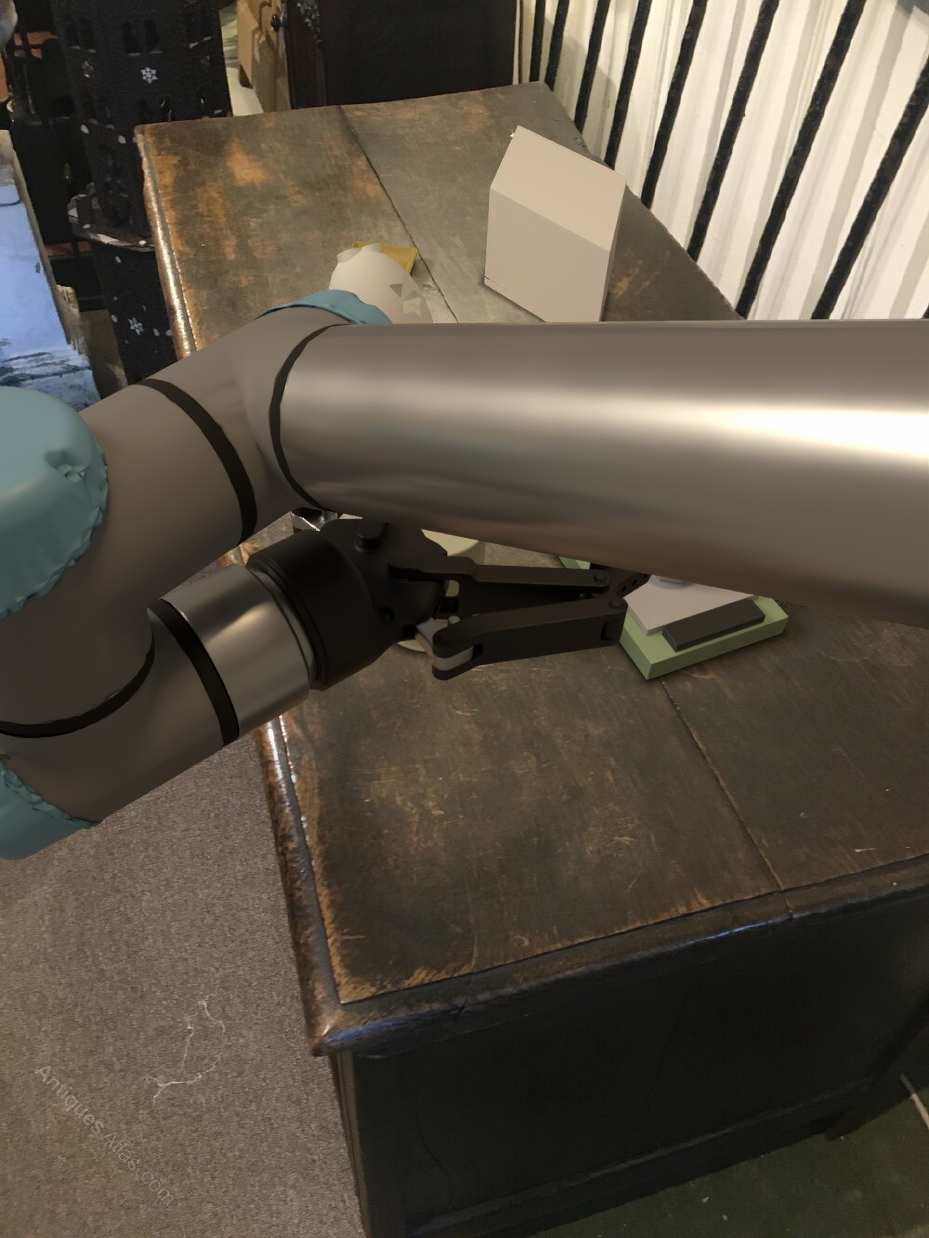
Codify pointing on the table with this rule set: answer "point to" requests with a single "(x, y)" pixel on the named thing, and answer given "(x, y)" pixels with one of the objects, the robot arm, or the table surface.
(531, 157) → the block
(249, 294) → the table surface
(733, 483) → the robot arm
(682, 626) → the scale
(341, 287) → the figurine
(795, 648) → the table surface
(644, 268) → the table surface
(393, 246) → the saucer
